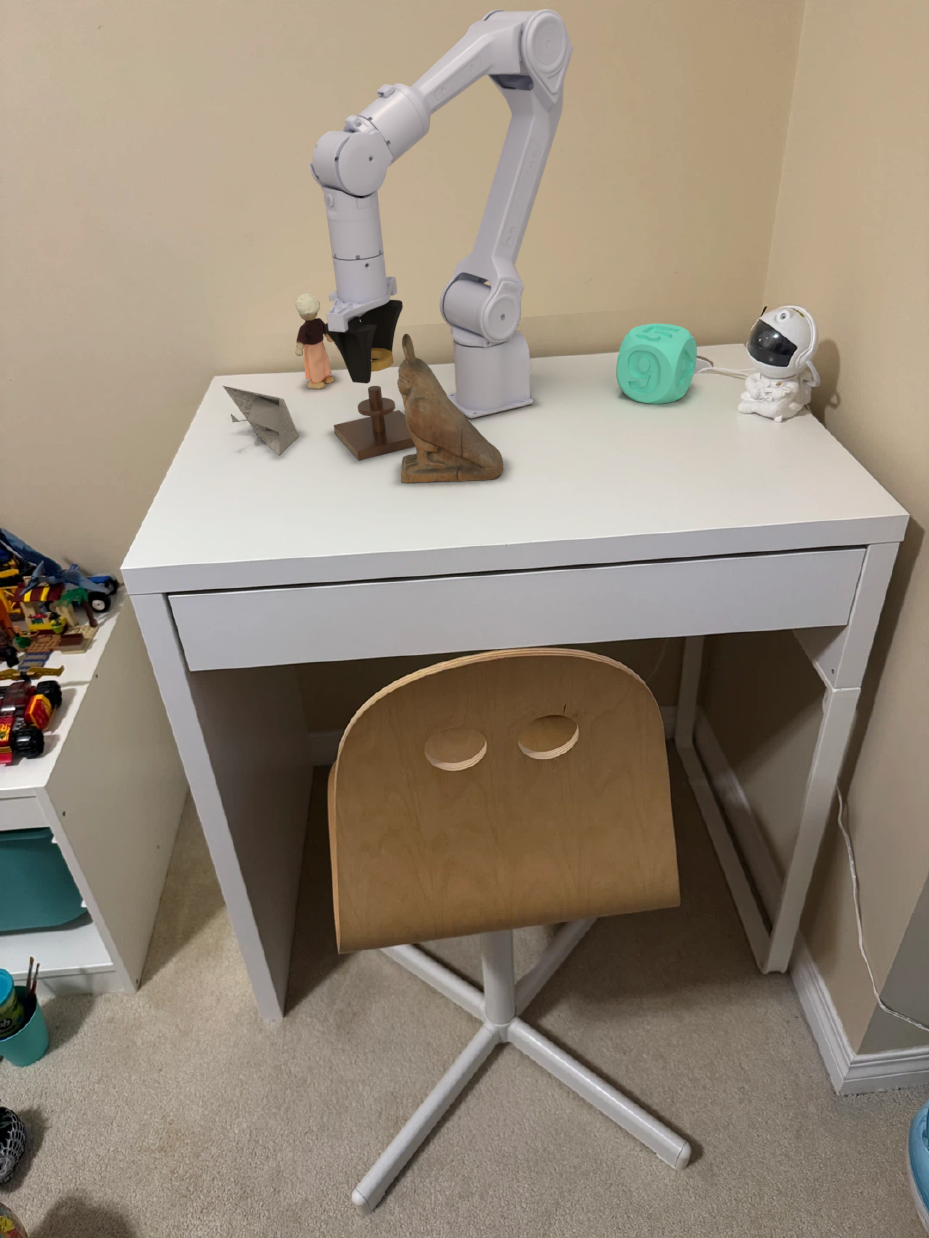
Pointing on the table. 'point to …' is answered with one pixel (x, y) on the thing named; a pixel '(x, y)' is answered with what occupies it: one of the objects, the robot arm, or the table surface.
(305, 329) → the grandmother figurine
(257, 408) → the paper boat
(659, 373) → the decorative dice
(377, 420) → the peg stand
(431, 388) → the worn brown figurine
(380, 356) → the brass ring
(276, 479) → the table surface
